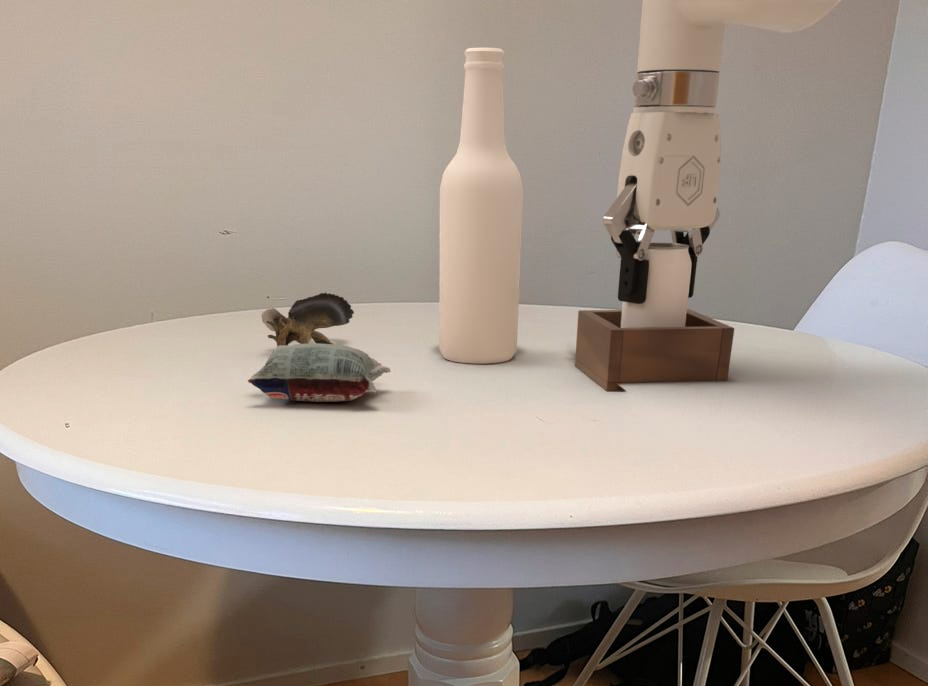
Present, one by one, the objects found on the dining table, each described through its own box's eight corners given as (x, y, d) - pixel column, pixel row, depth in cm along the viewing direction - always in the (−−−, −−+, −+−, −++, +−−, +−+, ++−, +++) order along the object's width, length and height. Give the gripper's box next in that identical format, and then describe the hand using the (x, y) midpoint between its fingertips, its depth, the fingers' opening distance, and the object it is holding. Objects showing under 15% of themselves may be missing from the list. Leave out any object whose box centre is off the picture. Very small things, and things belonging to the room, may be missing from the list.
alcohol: (531, 355, 112) (545, 50, 98) (488, 367, 105) (496, 43, 92) (468, 346, 116) (473, 54, 103) (423, 358, 110) (422, 47, 96)
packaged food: (273, 385, 97) (269, 334, 94) (391, 389, 96) (390, 337, 93) (248, 407, 89) (243, 352, 87) (376, 412, 88) (375, 356, 86)
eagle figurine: (308, 353, 106) (367, 328, 111) (273, 294, 104) (334, 270, 110) (279, 381, 112) (335, 356, 117) (245, 325, 111) (304, 302, 116)
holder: (683, 363, 108) (689, 308, 106) (726, 388, 97) (734, 328, 95) (574, 365, 107) (578, 310, 104) (606, 391, 96) (611, 330, 93)
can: (634, 359, 106) (644, 241, 100) (690, 367, 102) (704, 244, 97) (606, 369, 101) (615, 245, 96) (664, 377, 98) (677, 249, 92)
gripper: (642, 91, 83) (623, 311, 91) (766, 98, 93) (739, 296, 101) (580, 94, 88) (567, 302, 96) (703, 100, 98) (682, 288, 106)
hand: (655, 297), depth 98 cm, fingers closed on can, 6 cm apart
